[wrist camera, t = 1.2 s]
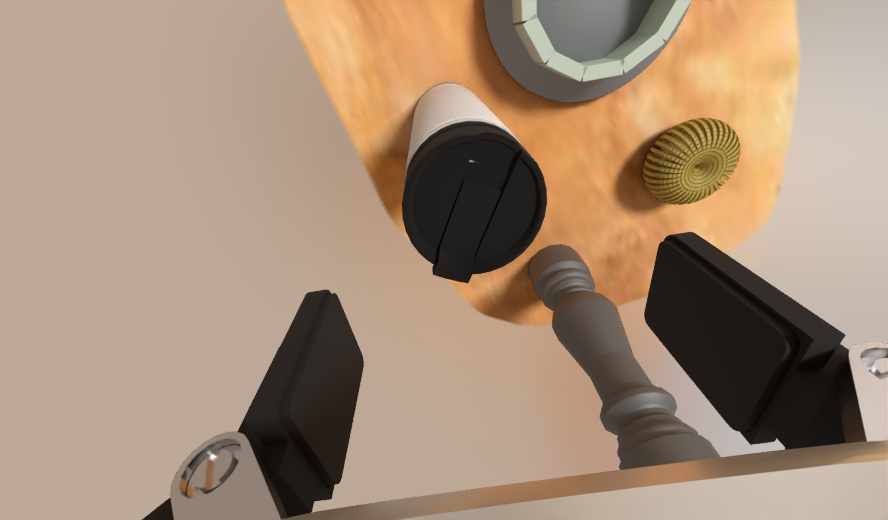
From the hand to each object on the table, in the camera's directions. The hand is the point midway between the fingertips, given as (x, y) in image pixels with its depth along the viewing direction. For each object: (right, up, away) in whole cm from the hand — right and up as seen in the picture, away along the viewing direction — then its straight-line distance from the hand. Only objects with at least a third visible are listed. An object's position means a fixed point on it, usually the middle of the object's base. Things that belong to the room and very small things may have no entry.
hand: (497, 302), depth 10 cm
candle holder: (+11, +1, +30) cm, 32 cm away
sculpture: (+22, +12, +24) cm, 34 cm away
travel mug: (-1, +14, +21) cm, 25 cm away
